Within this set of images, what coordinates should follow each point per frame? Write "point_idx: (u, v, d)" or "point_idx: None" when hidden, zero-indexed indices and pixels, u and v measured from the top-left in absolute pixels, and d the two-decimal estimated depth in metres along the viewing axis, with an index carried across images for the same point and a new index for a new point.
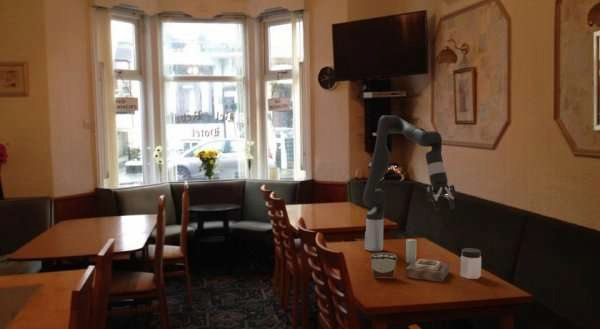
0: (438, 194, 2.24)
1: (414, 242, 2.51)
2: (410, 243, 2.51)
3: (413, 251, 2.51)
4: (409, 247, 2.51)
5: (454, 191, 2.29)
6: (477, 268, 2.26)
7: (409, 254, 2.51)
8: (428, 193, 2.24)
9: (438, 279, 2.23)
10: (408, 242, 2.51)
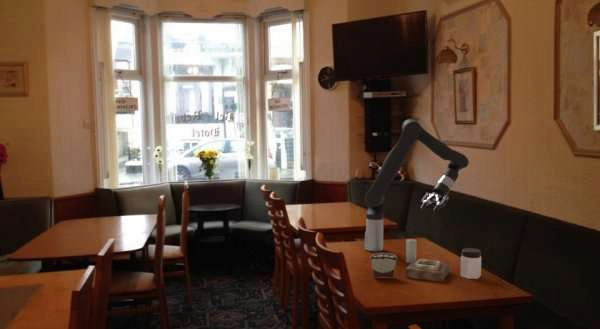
0: None
1: (414, 242, 2.51)
2: (410, 243, 2.51)
3: (413, 251, 2.51)
4: (409, 247, 2.51)
5: None
6: (477, 268, 2.26)
7: (409, 254, 2.51)
8: (445, 200, 2.54)
9: (438, 279, 2.23)
10: (408, 242, 2.51)
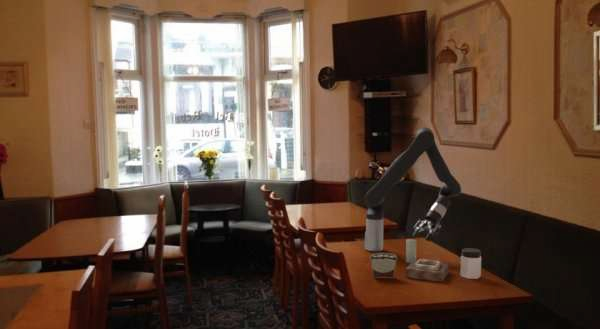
0: None
1: (414, 242, 2.51)
2: (410, 243, 2.51)
3: (413, 251, 2.51)
4: (409, 247, 2.51)
5: (418, 226, 2.65)
6: (477, 268, 2.26)
7: (409, 254, 2.51)
8: (438, 229, 2.53)
9: (438, 279, 2.23)
10: (408, 242, 2.51)
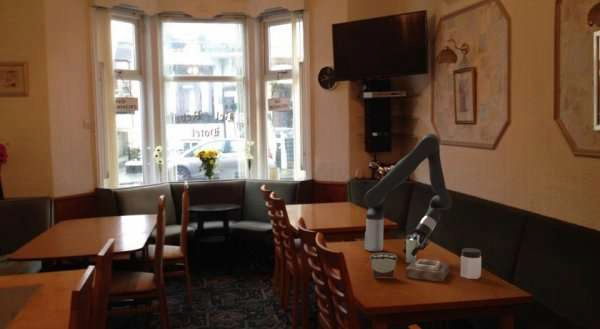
0: None
1: (414, 242, 2.51)
2: (410, 243, 2.51)
3: None
4: (409, 247, 2.51)
5: None
6: (477, 268, 2.26)
7: (409, 254, 2.51)
8: (425, 244, 2.50)
9: (438, 279, 2.23)
10: (408, 242, 2.51)
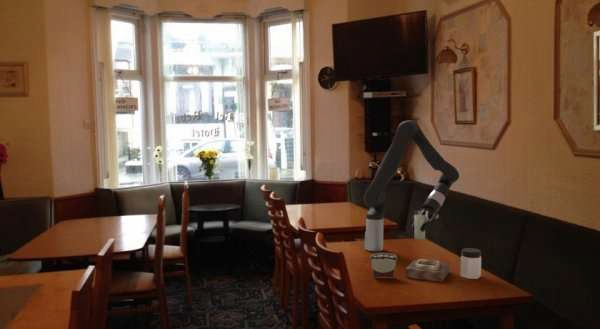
0: None
1: (423, 217, 2.41)
2: (419, 218, 2.41)
3: None
4: (418, 223, 2.41)
5: None
6: (477, 268, 2.26)
7: (418, 230, 2.41)
8: (434, 219, 2.40)
9: (438, 279, 2.23)
10: (416, 217, 2.41)
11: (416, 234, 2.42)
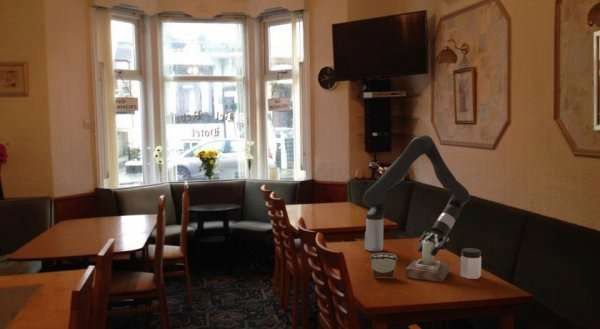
0: None
1: (431, 244, 2.29)
2: (427, 245, 2.29)
3: (430, 254, 2.30)
4: (426, 250, 2.30)
5: (424, 239, 2.39)
6: (477, 268, 2.26)
7: (426, 258, 2.30)
8: (445, 242, 2.28)
9: (438, 279, 2.23)
10: (425, 244, 2.30)
11: (424, 262, 2.31)
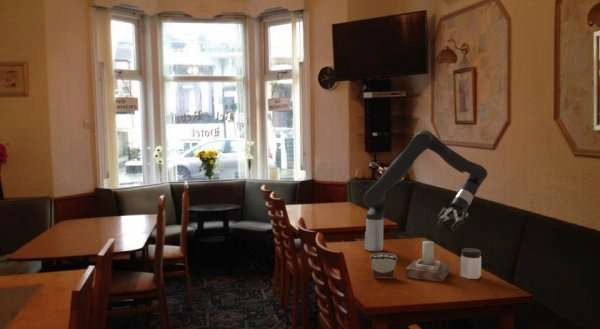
0: None
1: (431, 244, 2.29)
2: (427, 245, 2.29)
3: (430, 254, 2.30)
4: (426, 250, 2.30)
5: (443, 215, 2.46)
6: (477, 268, 2.26)
7: (426, 258, 2.30)
8: (465, 217, 2.34)
9: (438, 279, 2.23)
10: (425, 244, 2.30)
11: (424, 262, 2.31)
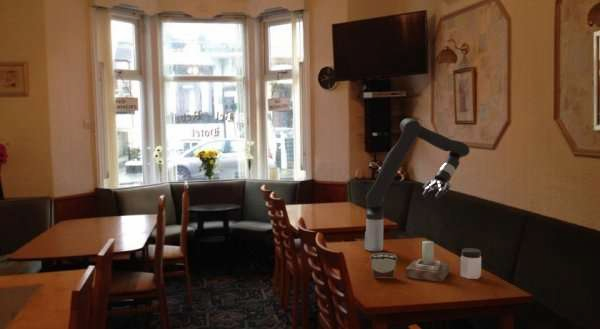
0: None
1: (431, 244, 2.29)
2: (427, 245, 2.29)
3: (430, 254, 2.30)
4: (426, 250, 2.30)
5: None
6: (477, 268, 2.26)
7: (426, 257, 2.30)
8: (447, 187, 2.61)
9: (438, 279, 2.23)
10: (424, 244, 2.30)
11: (424, 262, 2.31)
